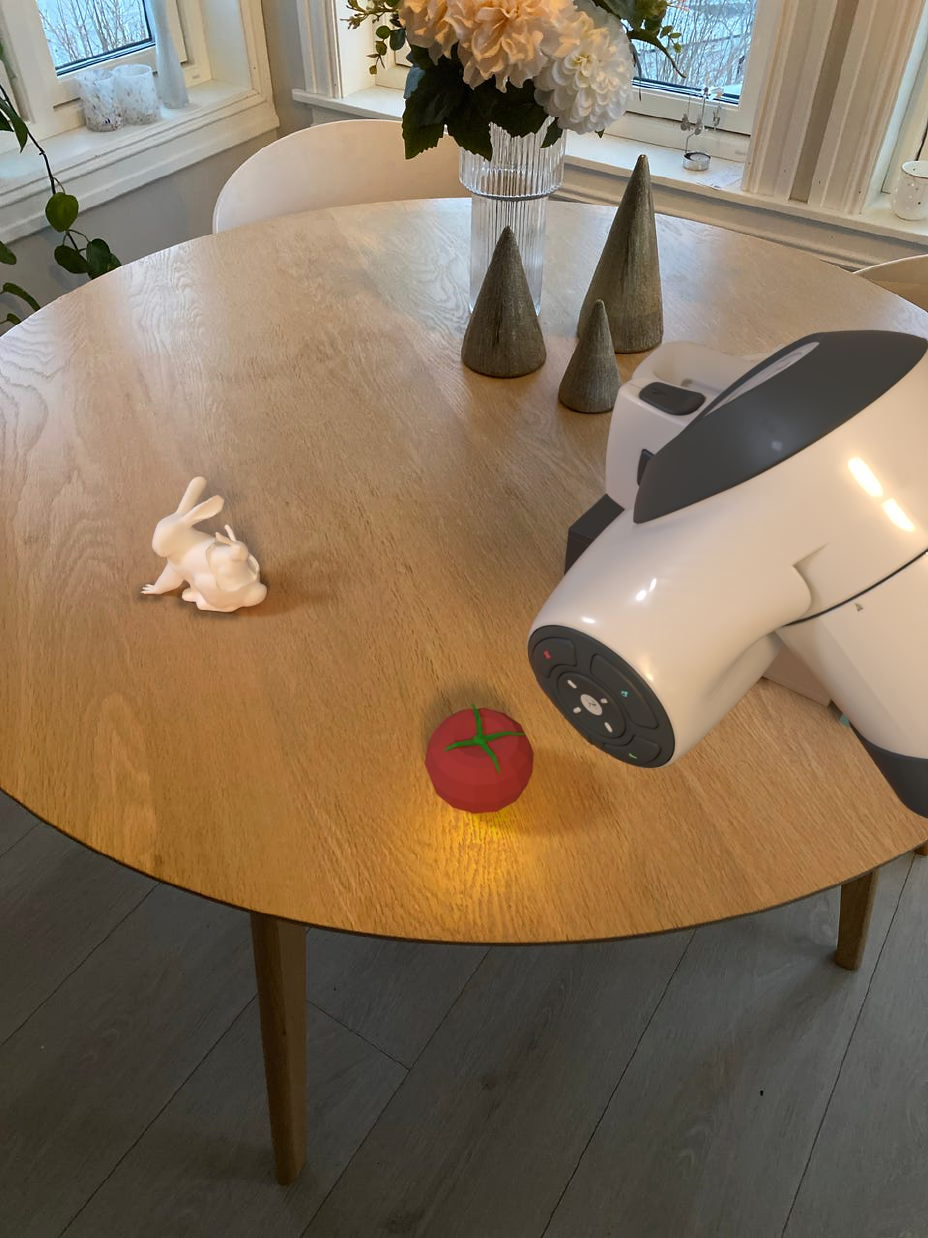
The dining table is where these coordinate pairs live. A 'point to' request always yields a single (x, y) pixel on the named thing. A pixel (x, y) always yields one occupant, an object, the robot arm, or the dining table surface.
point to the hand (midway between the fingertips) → (871, 383)
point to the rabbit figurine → (205, 558)
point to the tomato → (479, 760)
